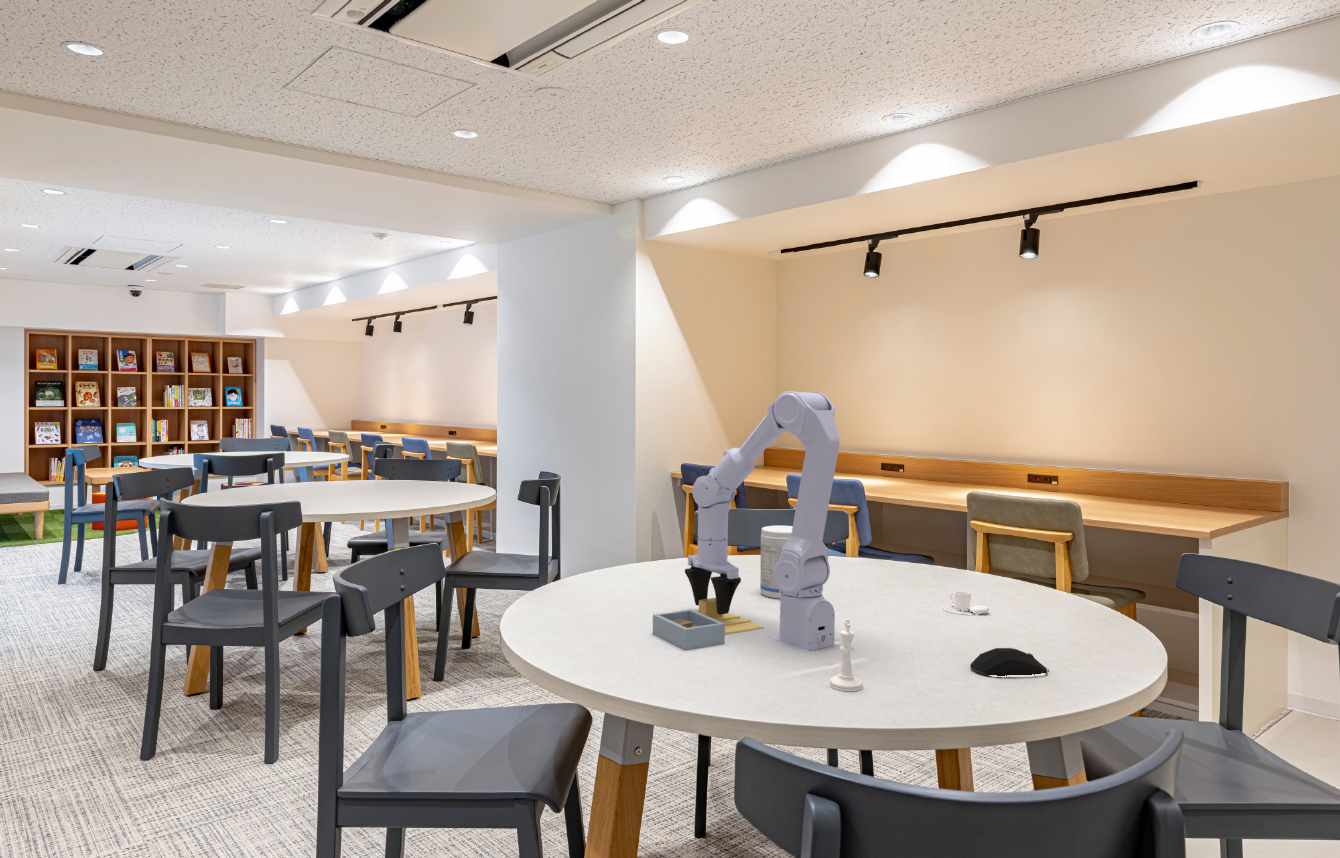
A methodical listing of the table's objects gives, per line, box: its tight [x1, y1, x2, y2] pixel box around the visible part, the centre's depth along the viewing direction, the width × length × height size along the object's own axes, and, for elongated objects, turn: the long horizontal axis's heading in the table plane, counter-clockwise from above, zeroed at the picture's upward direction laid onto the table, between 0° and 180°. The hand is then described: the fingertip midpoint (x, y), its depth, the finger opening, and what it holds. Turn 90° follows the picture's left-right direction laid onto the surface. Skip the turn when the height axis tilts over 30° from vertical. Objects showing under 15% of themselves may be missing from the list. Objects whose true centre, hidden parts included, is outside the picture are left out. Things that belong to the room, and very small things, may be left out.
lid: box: [698, 597, 764, 636], centre depth 151 cm, size 13×10×4 cm
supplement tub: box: [759, 525, 793, 600], centre depth 177 cm, size 10×10×15 cm
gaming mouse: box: [969, 647, 1048, 676], centre depth 128 cm, size 6×15×4 cm, turn 94°
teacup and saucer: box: [942, 590, 990, 615], centre depth 166 cm, size 9×8×4 cm
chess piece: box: [828, 618, 864, 693], centre depth 120 cm, size 5×5×10 cm
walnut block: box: [673, 619, 692, 628], centre depth 141 cm, size 3×3×3 cm
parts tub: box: [652, 609, 726, 651], centre depth 141 cm, size 11×8×4 cm
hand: (711, 609), depth 154 cm, fingers open, 7 cm apart
